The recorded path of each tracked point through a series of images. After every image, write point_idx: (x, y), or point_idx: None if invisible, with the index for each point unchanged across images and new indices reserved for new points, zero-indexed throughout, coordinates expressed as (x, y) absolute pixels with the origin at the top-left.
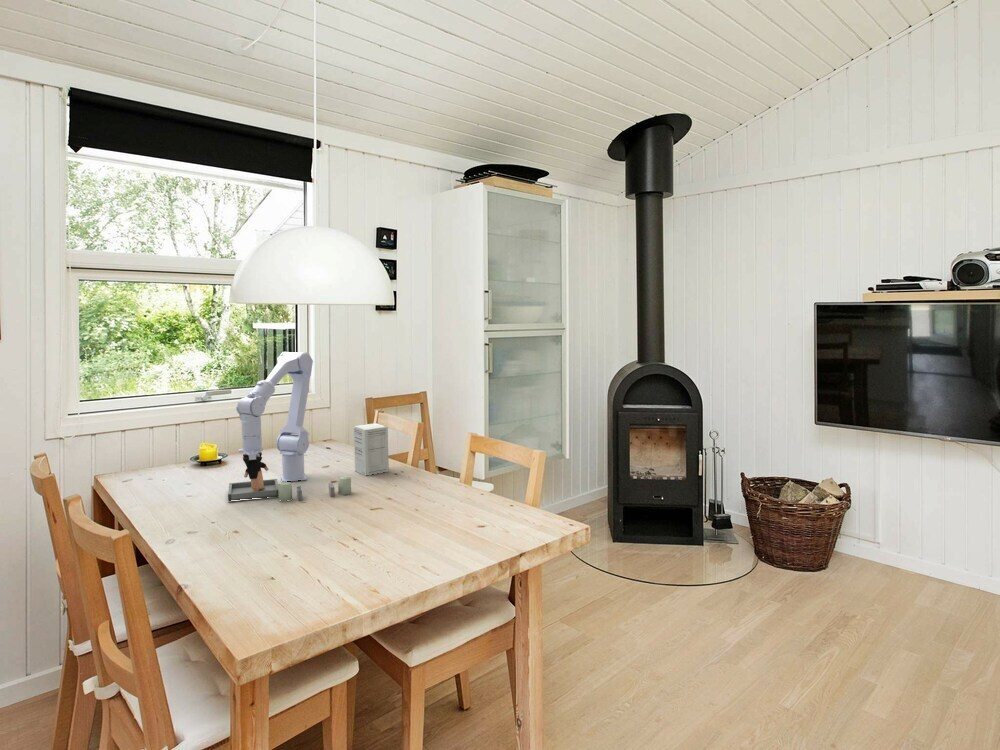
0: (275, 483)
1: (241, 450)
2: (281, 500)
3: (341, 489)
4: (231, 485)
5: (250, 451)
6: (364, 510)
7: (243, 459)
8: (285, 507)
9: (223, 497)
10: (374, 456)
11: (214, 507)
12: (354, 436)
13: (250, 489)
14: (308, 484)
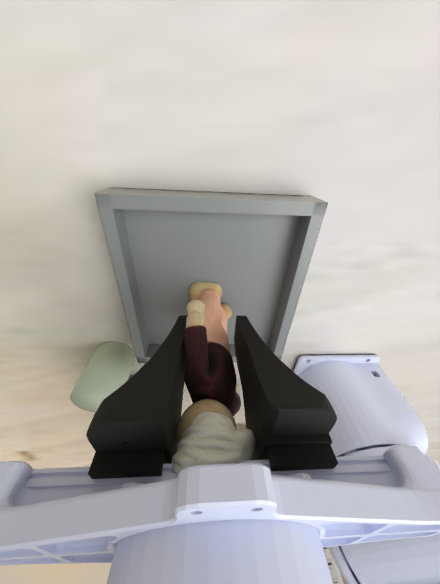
0: None
1: (172, 515)
2: (96, 349)
3: None
4: (275, 213)
5: (108, 538)
6: (15, 446)
7: (100, 415)
8: (34, 352)
9: (206, 164)
10: None
11: (28, 110)
12: (332, 566)
13: (243, 279)
14: None
